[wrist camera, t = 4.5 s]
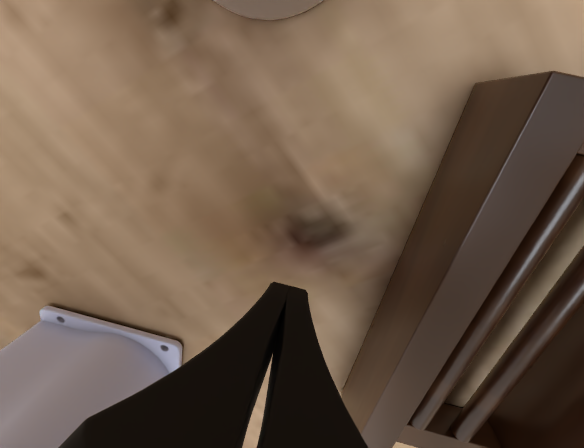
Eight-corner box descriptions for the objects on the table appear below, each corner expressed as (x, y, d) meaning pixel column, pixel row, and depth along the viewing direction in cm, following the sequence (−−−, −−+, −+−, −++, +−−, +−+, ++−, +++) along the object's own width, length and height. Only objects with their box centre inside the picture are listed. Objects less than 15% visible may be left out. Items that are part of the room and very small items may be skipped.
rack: (341, 393, 18) (344, 556, 11) (475, 82, 10) (707, 45, 4) (499, 436, 17) (596, 632, 11) (758, 144, 10) (1553, 217, 3)
